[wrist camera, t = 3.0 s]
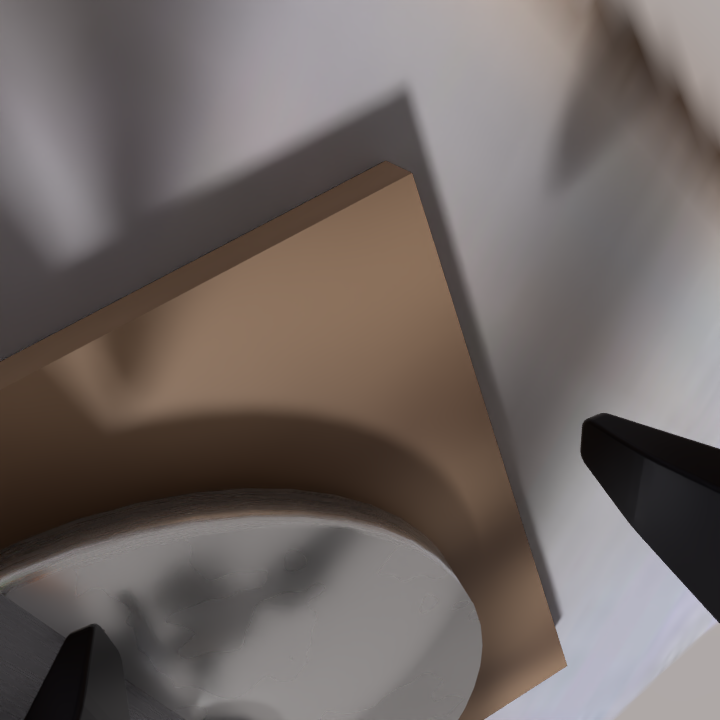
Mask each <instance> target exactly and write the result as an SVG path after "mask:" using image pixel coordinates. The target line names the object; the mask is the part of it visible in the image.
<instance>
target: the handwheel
mask: <svg viewBox="0 0 720 720" xmlns="http://www.w3.org/2000/svg"><path fill="white" fill-rule="evenodd" d="M93 623H96V624H98V625H99V626H100V627H101V628H102V629H103V630H104V632H105V633H106V634H107V636H108V637H109V638H110V640H111V641H112V642H113V644H114V645H115V646H116V648H117V649H118V651H119V653H120V656H121V659H122V663H123V670H124V678H125V685H126V692H127V700H128V707H129V714H130V720H458V719H459V718H460V716H461V714H462V713H463V711H464V709H465V707H466V705H467V703H468V700H469V698H470V696H471V694H472V691H473V689H474V686H475V683H476V679H477V676H478V672H479V669H480V664H481V655H482V646H483V645H482V634H481V624H480V621H479V618H478V615H477V612H476V609H475V606H474V604H473V602H472V601H471V599H470V598H469V596H468V594H467V593H466V591H465V590H464V588H463V586H462V585H461V583H460V582H459V580H458V578H457V577H456V575H455V574H454V572H453V570H452V569H451V567H450V566H449V564H448V563H447V561H446V559H445V558H444V556H443V555H442V553H441V552H440V550H439V549H438V548H437V547H436V546H435V545H434V544H433V543H432V542H431V541H430V540H429V539H428V538H427V537H426V536H425V535H424V534H423V533H422V532H421V531H419V530H418V529H416V528H415V527H413V526H412V525H410V524H409V523H407V522H406V521H404V520H403V519H401V518H400V517H398V516H395V515H393V514H391V513H389V512H386V511H384V510H382V509H379V508H377V507H375V506H373V505H370V504H367V503H363V502H360V501H356V500H352V499H349V498H345V497H341V496H337V495H333V494H326V493H318V492H311V491H303V490H296V489H262V488H241V489H229V490H218V491H206V492H195V493H188V494H182V495H177V496H171V497H166V498H160V499H155V500H150V501H144V502H139V503H134V504H130V505H127V506H123V507H120V508H116V509H113V510H109V511H105V512H102V513H98V514H95V515H91V516H88V517H84V518H80V519H77V520H74V521H72V522H69V523H66V524H64V525H61V526H59V527H56V528H53V529H51V530H48V531H45V532H43V533H40V534H38V535H35V536H32V537H30V538H27V539H24V540H22V541H19V542H17V543H15V544H13V545H11V546H9V547H7V548H5V549H3V550H1V551H0V720H24V718H25V716H26V714H27V712H28V710H29V708H30V706H31V704H32V702H33V700H34V698H35V697H36V695H37V693H38V691H39V689H40V687H41V685H42V683H43V681H44V679H45V677H46V675H47V673H48V671H49V669H50V667H51V665H52V663H53V662H54V660H55V658H56V656H57V654H58V652H59V650H60V648H61V646H62V644H63V642H64V640H65V639H66V637H67V636H68V635H69V634H70V633H71V632H73V631H75V630H78V629H80V628H82V627H85V626H87V625H90V624H93Z"/></svg>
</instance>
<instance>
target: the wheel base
mask: <svg viewBox="0 0 720 720" xmlns="http://www.w3.org/2000/svg"><path fill="white" fill-rule="evenodd" d="M241 488H262V489H296V490H303V491H311V492H318V493H326V494H333V495H337V496H341V497H345V498H349V499H352V500H356V501H360V502H363V503H367V504H370V505H373V506H375V507H377V508H379V509H382V510H384V511H386V512H389V513H391V514H393V515H395V516H398V517H400V518H401V519H403V520H404V521H406V522H407V523H409V524H410V525H412V526H413V527H415V528H416V529H418V530H419V531H421V532H422V533H423V534H424V535H425V536H426V537H427V538H428V539H429V540H430V541H431V542H432V543H433V544H434V545H435V546H436V547H437V548H438V549H439V550H440V552H441V553H442V555H443V556H444V558H445V559H446V561H447V563H448V564H449V566H450V567H451V569H452V570H453V572H454V574H455V575H456V577H457V578H458V580H459V582H460V583H461V585H462V586H463V588H464V590H465V591H466V593H467V594H468V596H469V598H470V599H471V601H472V602H473V604H474V606H475V609H476V612H477V615H478V618H479V621H480V624H481V634H482V645H483V646H482V655H481V664H480V669H479V672H478V676H477V679H476V683H475V686H474V689H473V691H472V694H471V696H470V698H469V700H468V703H467V705H466V707H465V709H464V711H463V713H462V714H461V716H460V718H459V719H458V720H484V719H485V718H487V717H488V716H490V715H492V714H493V713H495V712H496V711H498V710H499V709H501V708H502V707H504V706H506V705H507V704H509V703H510V702H512V701H513V700H515V699H516V698H518V697H520V696H521V695H523V694H524V693H526V692H527V691H529V690H530V689H532V688H534V687H535V686H537V685H538V684H540V683H541V682H543V681H544V680H546V679H547V678H549V677H551V676H552V675H554V674H555V673H557V672H558V671H560V670H561V669H563V668H565V667H566V666H567V664H566V660H565V657H564V654H563V651H562V648H561V644H560V641H559V638H558V635H557V632H556V629H555V625H554V622H553V619H552V616H551V613H550V610H549V606H548V603H547V600H546V597H545V594H544V590H543V587H542V584H541V581H540V578H539V575H538V571H537V568H536V565H535V562H534V559H533V556H532V552H531V549H530V546H529V543H528V540H527V536H526V533H525V530H524V527H523V524H522V521H521V517H520V514H519V511H518V508H517V505H516V501H515V498H514V495H513V492H512V489H511V486H510V482H509V479H508V476H507V473H506V470H505V467H504V463H503V460H502V457H501V454H500V451H499V447H498V444H497V441H496V438H495V435H494V432H493V428H492V425H491V422H490V419H489V416H488V413H487V409H486V406H485V403H484V400H483V397H482V393H481V390H480V387H479V384H478V381H477V378H476V374H475V371H474V368H473V365H472V362H471V359H470V355H469V352H468V349H467V346H466V343H465V339H464V336H463V333H462V330H461V327H460V324H459V320H458V317H457V314H456V311H455V308H454V305H453V301H452V298H451V295H450V292H449V289H448V285H447V282H446V279H445V276H444V273H443V270H442V266H441V263H440V260H439V257H438V254H437V250H436V247H435V244H434V241H433V238H432V235H431V231H430V228H429V225H428V222H427V219H426V216H425V212H424V209H423V206H422V203H421V200H420V196H419V193H418V190H417V187H416V184H415V181H414V177H413V174H412V173H411V172H409V171H407V170H405V169H403V168H400V167H398V166H396V165H394V164H392V163H390V162H388V161H384V162H382V163H380V164H379V165H377V166H375V167H373V168H371V169H369V170H367V171H365V172H363V173H361V174H359V175H357V176H355V177H354V178H352V179H350V180H348V181H346V182H344V183H342V184H340V185H338V186H336V187H334V188H332V189H331V190H329V191H327V192H325V193H323V194H321V195H319V196H317V197H315V198H313V199H311V200H309V201H308V202H306V203H304V204H302V205H300V206H298V207H296V208H294V209H292V210H290V211H288V212H286V213H285V214H283V215H281V216H279V217H277V218H275V219H273V220H271V221H269V222H267V223H265V224H263V225H262V226H260V227H258V228H256V229H254V230H252V231H250V232H248V233H246V234H244V235H242V236H240V237H238V238H237V239H235V240H233V241H231V242H229V243H227V244H225V245H223V246H221V247H219V248H217V249H215V250H214V251H212V252H210V253H208V254H206V255H204V256H202V257H200V258H198V259H196V260H194V261H192V262H191V263H189V264H187V265H185V266H183V267H181V268H179V269H177V270H175V271H173V272H171V273H169V274H168V275H166V276H164V277H162V278H160V279H158V280H156V281H154V282H152V283H150V284H148V285H146V286H144V287H143V288H141V289H139V290H137V291H135V292H133V293H131V294H129V295H127V296H125V297H123V298H121V299H120V300H118V301H116V302H114V303H112V304H110V305H108V306H106V307H104V308H102V309H100V310H98V311H97V312H95V313H93V314H91V315H89V316H87V317H85V318H83V319H81V320H79V321H77V322H75V323H74V324H72V325H70V326H68V327H66V328H64V329H62V330H60V331H58V332H56V333H54V334H52V335H50V336H49V337H47V338H45V339H43V340H41V341H39V342H37V343H35V344H33V345H31V346H29V347H27V348H26V349H24V350H22V351H20V352H18V353H16V354H14V355H12V356H10V357H8V358H6V359H4V360H3V361H1V362H0V551H1V550H3V549H5V548H7V547H9V546H11V545H13V544H15V543H17V542H19V541H22V540H24V539H27V538H30V537H32V536H35V535H38V534H40V533H43V532H45V531H48V530H51V529H53V528H56V527H59V526H61V525H64V524H66V523H69V522H72V521H74V520H77V519H80V518H84V517H88V516H91V515H95V514H98V513H102V512H105V511H109V510H113V509H116V508H120V507H123V506H127V505H130V504H134V503H139V502H144V501H150V500H155V499H160V498H166V497H171V496H177V495H182V494H188V493H195V492H206V491H218V490H229V489H241Z"/></svg>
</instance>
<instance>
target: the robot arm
mask: <svg viewBox="0 0 720 720" xmlns="http://www.w3.org/2000/svg"><path fill="white" fill-rule="evenodd" d="M580 451H581V456H582V459H583V461H584V463H585V464H586V466H587V467H588V468H589V470H590V471H591V472H592V474H593V475H594V476H595V478H596V479H597V480H598V482H599V483H600V485H601V486H602V487H603V489H604V490H605V491H606V493H607V494H608V495H609V497H610V498H611V499H612V501H613V502H614V503H615V505H616V506H617V507H618V509H619V510H620V512H621V513H622V514H623V516H624V517H625V518H626V519H627V521H628V522H629V523H630V525H631V526H632V527H633V528H634V529H635V531H636V532H637V533H638V534H639V535H640V536H641V537H642V539H643V540H644V541H645V542H646V543H647V544H648V545H649V546H650V547H651V548H652V550H653V551H654V552H655V553H656V554H657V555H658V556H659V557H660V558H661V559H662V561H663V562H664V563H665V564H666V565H667V566H668V567H669V568H670V569H671V570H672V572H673V573H674V574H675V575H676V576H677V577H678V578H679V579H680V580H681V581H682V583H683V584H684V585H685V586H686V587H687V588H688V589H689V590H690V591H691V592H692V594H693V595H694V596H695V597H696V598H697V599H698V600H699V601H700V602H701V603H702V605H703V606H704V607H705V608H706V609H707V610H708V611H709V612H710V613H711V614H712V616H713V617H714V618H715V619H716V620H717V621H718V622H719V623H720V449H718V448H715V447H712V446H709V445H706V444H703V443H699V442H696V441H693V440H690V439H687V438H684V437H680V436H677V435H674V434H671V433H668V432H665V431H662V430H658V429H655V428H652V427H649V426H646V425H643V424H639V423H636V422H633V421H630V420H627V419H624V418H620V417H617V416H614V415H611V414H607V413H600V414H597V415H595V416H593V417H590V418H588V419H586V420H585V421H584V422H583V425H582V436H581V449H580ZM24 720H130V714H129V707H128V700H127V692H126V685H125V678H124V670H123V663H122V659H121V656H120V653H119V651H118V649H117V648H116V646H115V645H114V644H113V642H112V641H111V640H110V638H109V637H108V636H107V634H106V633H105V632H104V630H103V629H102V628H101V627H100V626H99V625H98V624H96V623H93V624H90V625H87V626H85V627H82V628H80V629H78V630H75V631H73V632H71V633H70V634H69V635H68V636H67V637H66V639H65V640H64V642H63V644H62V646H61V648H60V650H59V652H58V654H57V656H56V658H55V660H54V662H53V663H52V665H51V667H50V669H49V671H48V673H47V675H46V677H45V679H44V681H43V683H42V685H41V687H40V689H39V691H38V693H37V695H36V697H35V698H34V700H33V702H32V704H31V706H30V708H29V710H28V712H27V714H26V716H25V718H24Z"/></svg>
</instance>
